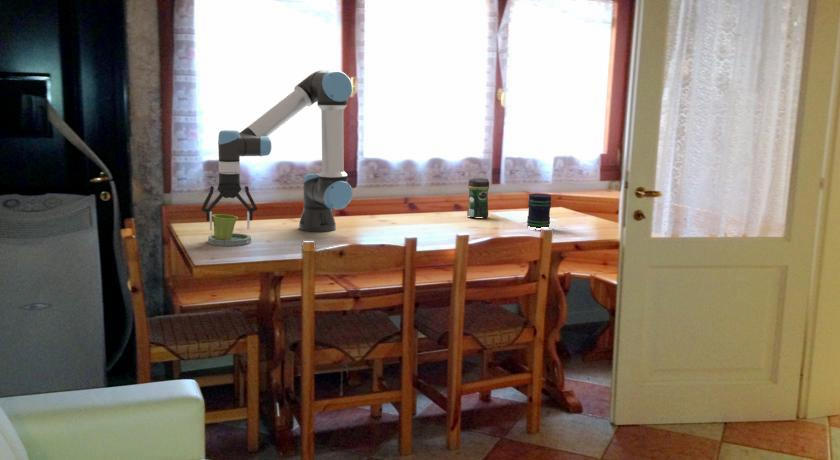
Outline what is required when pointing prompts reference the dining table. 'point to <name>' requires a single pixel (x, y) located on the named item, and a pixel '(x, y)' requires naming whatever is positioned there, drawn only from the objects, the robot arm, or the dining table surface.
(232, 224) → the plant pot
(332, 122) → the robot arm
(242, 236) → the saucer
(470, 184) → the coffee jar
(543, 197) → the storage jar
